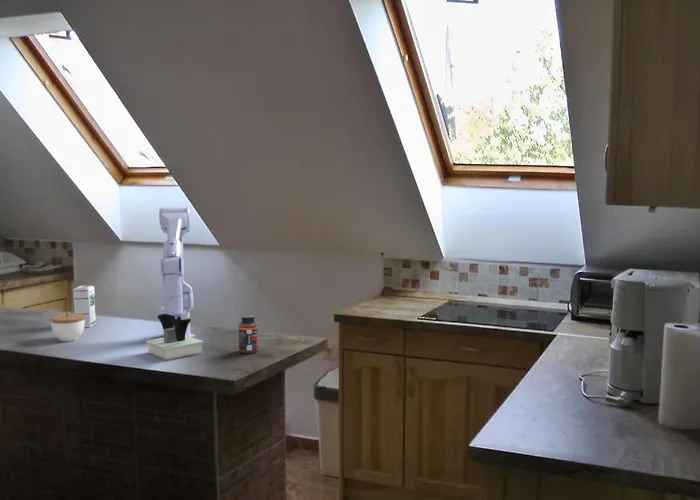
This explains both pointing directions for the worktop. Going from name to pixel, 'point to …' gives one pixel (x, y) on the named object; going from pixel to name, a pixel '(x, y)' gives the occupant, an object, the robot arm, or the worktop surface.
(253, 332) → the supplement bottle
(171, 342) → the lid
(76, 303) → the syrup box
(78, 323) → the lidded jar
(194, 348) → the storage box
